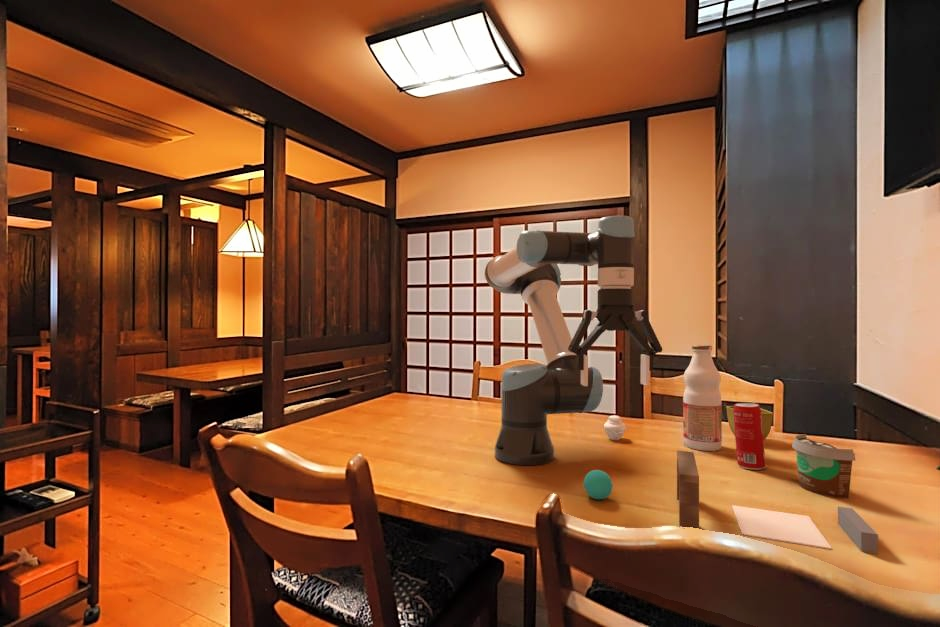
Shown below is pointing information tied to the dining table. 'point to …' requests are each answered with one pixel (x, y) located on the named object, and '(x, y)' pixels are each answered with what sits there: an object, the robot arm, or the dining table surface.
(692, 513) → the grey brown rectangular block
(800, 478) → the food container
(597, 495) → the ball
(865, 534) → the wall
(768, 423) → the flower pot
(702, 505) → the dining table surface
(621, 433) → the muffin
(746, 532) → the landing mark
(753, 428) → the beverage can
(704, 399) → the fruit juice
